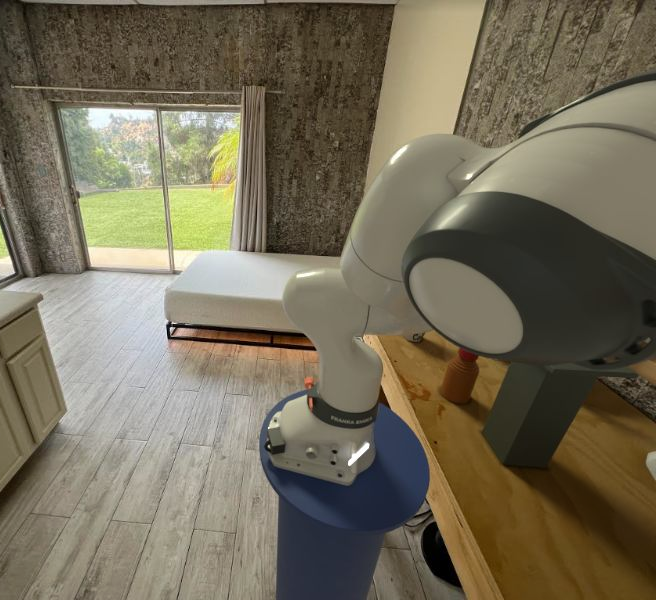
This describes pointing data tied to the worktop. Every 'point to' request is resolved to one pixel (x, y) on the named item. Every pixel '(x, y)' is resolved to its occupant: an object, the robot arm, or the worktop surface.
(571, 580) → the worktop surface
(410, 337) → the cup
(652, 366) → the mallet
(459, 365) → the bottle
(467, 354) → the cap
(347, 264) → the robot arm
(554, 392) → the stand
